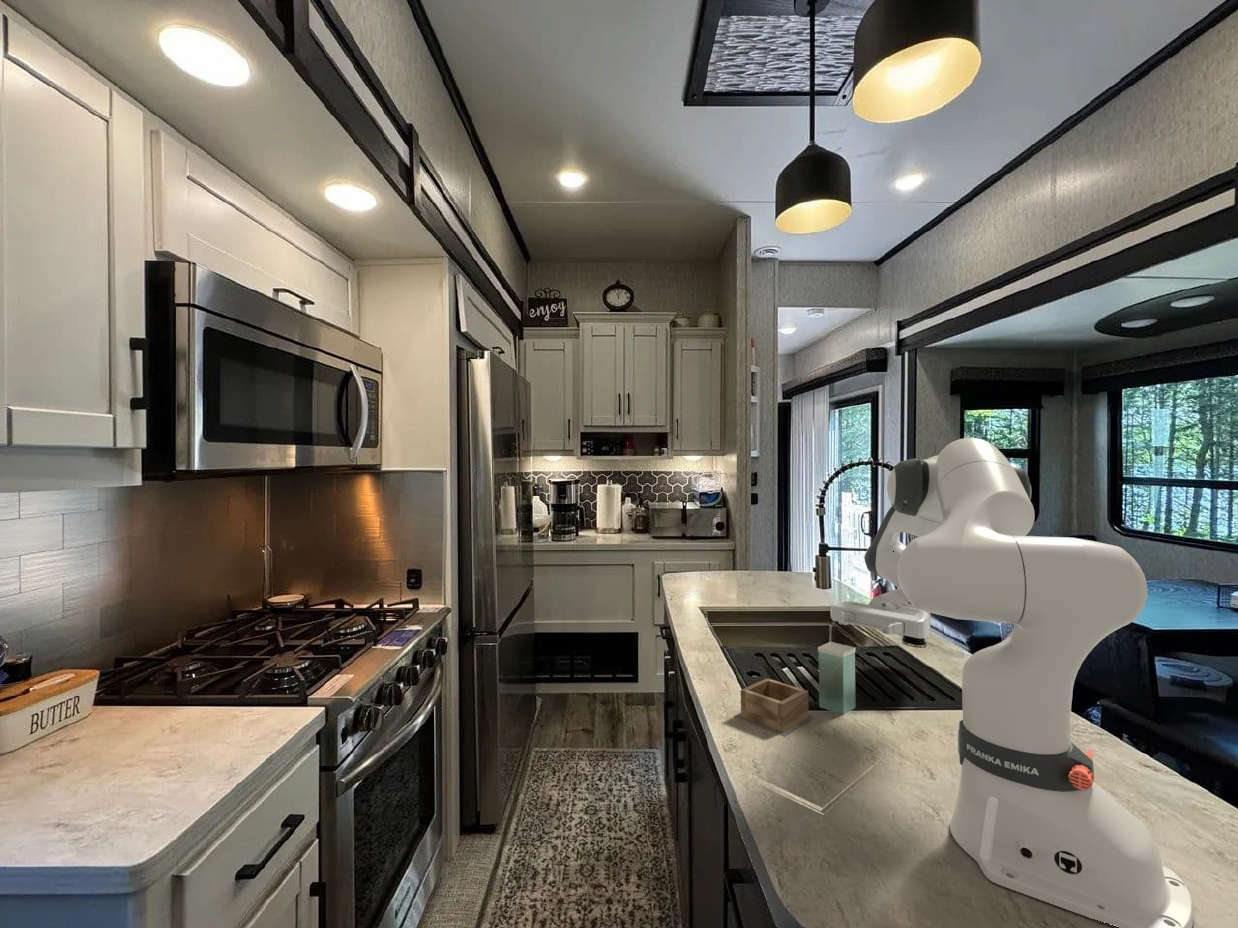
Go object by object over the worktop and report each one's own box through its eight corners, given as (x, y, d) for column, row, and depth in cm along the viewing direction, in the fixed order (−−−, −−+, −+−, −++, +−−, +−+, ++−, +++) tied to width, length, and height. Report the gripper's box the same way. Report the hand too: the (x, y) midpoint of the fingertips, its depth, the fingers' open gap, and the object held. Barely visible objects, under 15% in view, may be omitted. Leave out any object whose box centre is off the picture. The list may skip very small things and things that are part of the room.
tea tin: (856, 709, 109) (855, 647, 109) (844, 717, 105) (843, 653, 105) (831, 701, 112) (830, 641, 113) (818, 708, 109) (817, 647, 109)
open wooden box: (808, 717, 104) (808, 690, 104) (783, 732, 98) (782, 704, 98) (767, 702, 111) (767, 677, 111) (740, 716, 105) (740, 689, 105)
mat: (816, 719, 104) (816, 717, 104) (785, 738, 97) (785, 736, 97) (765, 701, 112) (765, 699, 112) (733, 718, 105) (733, 716, 105)
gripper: (845, 592, 135) (817, 601, 125) (937, 607, 119) (913, 620, 110) (845, 618, 134) (817, 629, 125) (937, 636, 119) (913, 651, 110)
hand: (863, 625), depth 117 cm, fingers open, 8 cm apart
